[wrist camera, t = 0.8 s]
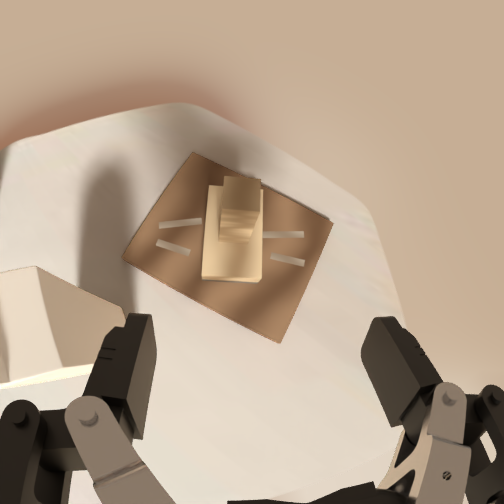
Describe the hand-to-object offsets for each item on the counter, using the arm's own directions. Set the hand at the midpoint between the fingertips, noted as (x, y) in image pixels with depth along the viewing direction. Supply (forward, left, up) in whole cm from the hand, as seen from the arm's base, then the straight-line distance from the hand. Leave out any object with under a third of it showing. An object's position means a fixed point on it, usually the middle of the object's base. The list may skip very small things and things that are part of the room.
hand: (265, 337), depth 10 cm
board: (-5, +10, -23) cm, 26 cm away
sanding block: (-5, +10, -22) cm, 25 cm away
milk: (-12, -7, -23) cm, 27 cm away
